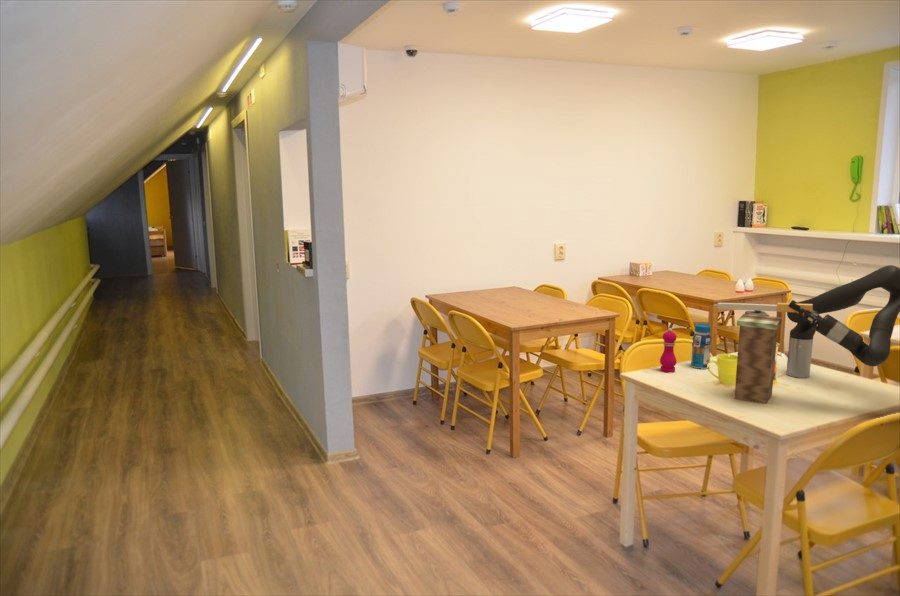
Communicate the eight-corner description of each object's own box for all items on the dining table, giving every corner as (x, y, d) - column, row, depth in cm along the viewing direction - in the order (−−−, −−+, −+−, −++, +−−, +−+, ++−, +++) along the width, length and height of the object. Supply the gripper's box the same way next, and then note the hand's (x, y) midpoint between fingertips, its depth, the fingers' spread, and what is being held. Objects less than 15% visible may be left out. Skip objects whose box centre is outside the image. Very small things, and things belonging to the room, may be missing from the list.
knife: (812, 311, 253) (812, 304, 252) (811, 313, 250) (812, 305, 250) (714, 307, 272) (714, 300, 272) (713, 308, 270) (713, 301, 269)
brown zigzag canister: (775, 394, 267) (781, 317, 261) (769, 405, 255) (776, 324, 249) (738, 388, 275) (743, 313, 269) (731, 398, 262) (737, 320, 256)
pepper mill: (661, 373, 297) (664, 329, 293) (657, 368, 304) (659, 326, 300) (678, 373, 297) (680, 329, 293) (673, 368, 304) (675, 326, 300)
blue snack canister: (688, 364, 310) (690, 323, 307) (706, 364, 310) (708, 323, 306) (693, 369, 302) (696, 327, 298) (712, 369, 302) (715, 327, 298)
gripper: (840, 317, 253) (798, 292, 259) (837, 324, 241) (794, 297, 248) (827, 333, 256) (786, 307, 262) (824, 340, 244) (781, 313, 251)
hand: (790, 303), depth 255 cm, fingers closed on knife, 3 cm apart
